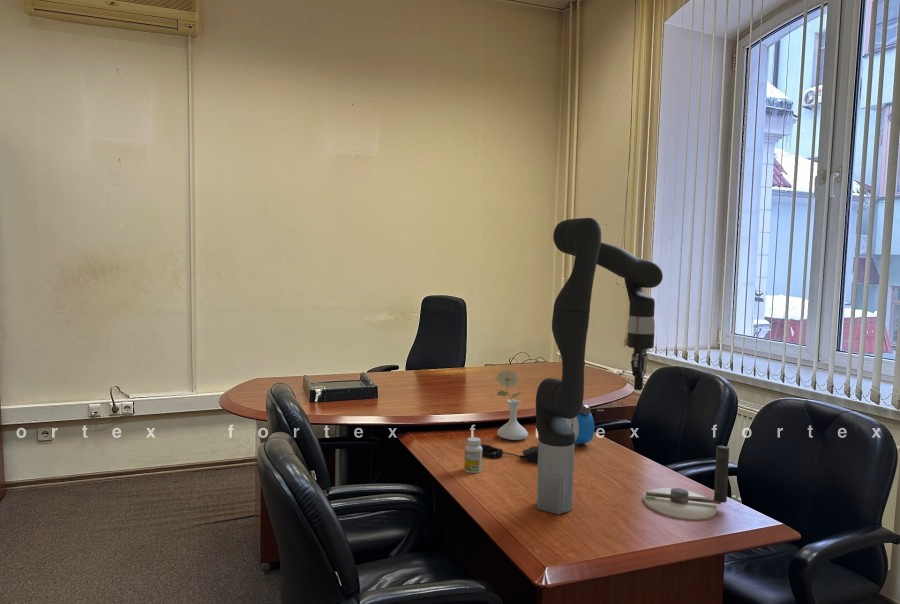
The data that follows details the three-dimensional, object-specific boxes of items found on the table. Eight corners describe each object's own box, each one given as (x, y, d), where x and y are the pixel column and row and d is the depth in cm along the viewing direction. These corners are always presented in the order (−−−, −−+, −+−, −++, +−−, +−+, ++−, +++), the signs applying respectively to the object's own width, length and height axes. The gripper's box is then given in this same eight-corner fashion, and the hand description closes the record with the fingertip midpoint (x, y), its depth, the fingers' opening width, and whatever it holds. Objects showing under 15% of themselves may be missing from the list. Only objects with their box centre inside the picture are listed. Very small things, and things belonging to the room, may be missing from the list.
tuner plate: (713, 526, 136) (713, 520, 136) (637, 509, 145) (637, 504, 145) (718, 500, 152) (719, 496, 152) (649, 486, 161) (649, 482, 161)
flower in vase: (533, 437, 207) (535, 370, 206) (520, 444, 198) (522, 374, 196) (501, 431, 214) (503, 366, 213) (487, 438, 204) (489, 370, 203)
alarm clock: (560, 438, 206) (561, 398, 205) (574, 437, 208) (575, 397, 207) (579, 449, 194) (581, 406, 193) (594, 448, 196) (596, 405, 195)
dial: (646, 499, 148) (649, 443, 147) (645, 493, 152) (647, 438, 152) (728, 508, 144) (731, 450, 143) (724, 502, 148) (727, 445, 147)
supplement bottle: (471, 466, 175) (472, 435, 174) (485, 470, 171) (486, 439, 171) (460, 470, 170) (461, 439, 170) (474, 474, 167) (475, 442, 167)
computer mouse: (568, 468, 176) (568, 450, 176) (468, 457, 183) (468, 441, 183) (569, 458, 185) (569, 442, 185) (473, 449, 193) (474, 433, 192)
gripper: (650, 334, 157) (647, 395, 158) (658, 330, 168) (655, 387, 169) (622, 332, 160) (620, 392, 161) (632, 328, 172) (630, 384, 173)
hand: (638, 389), depth 165 cm, fingers closed
